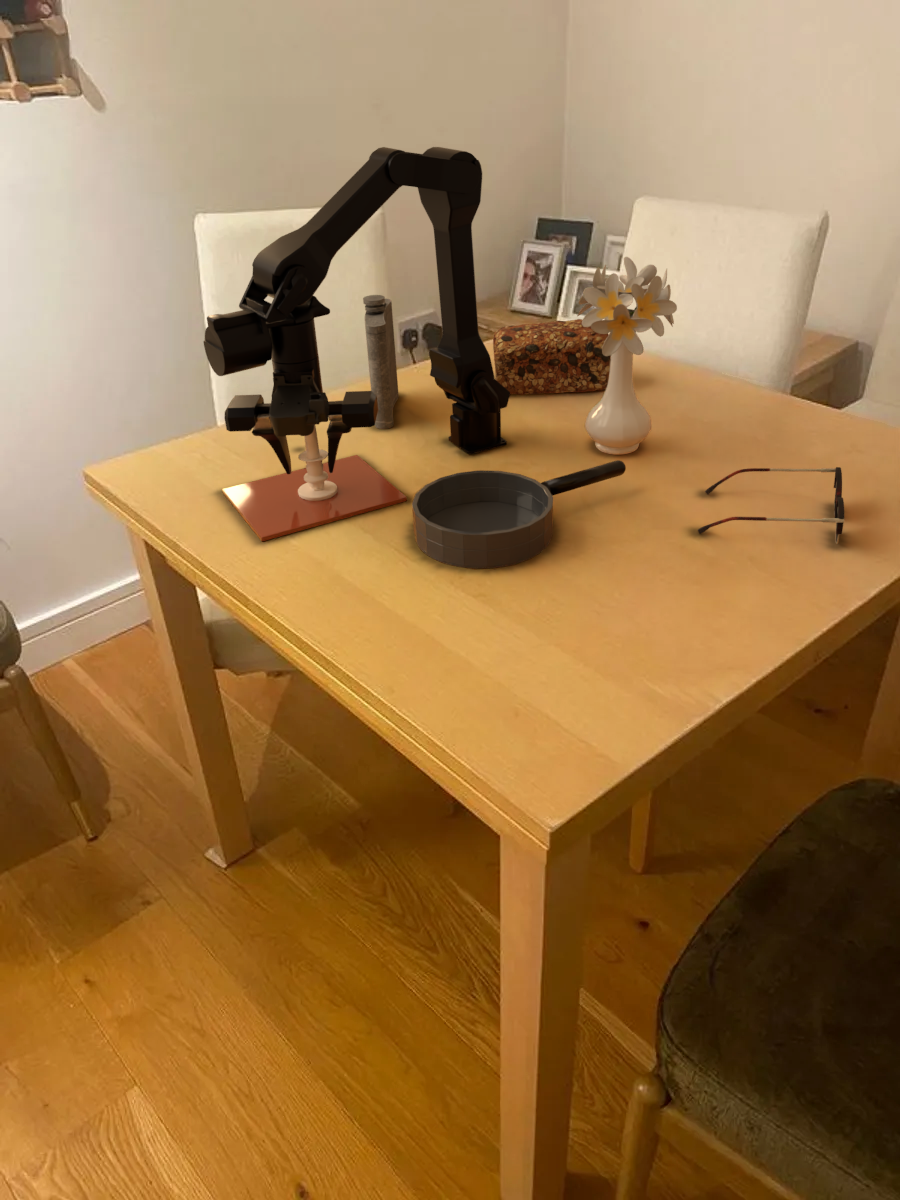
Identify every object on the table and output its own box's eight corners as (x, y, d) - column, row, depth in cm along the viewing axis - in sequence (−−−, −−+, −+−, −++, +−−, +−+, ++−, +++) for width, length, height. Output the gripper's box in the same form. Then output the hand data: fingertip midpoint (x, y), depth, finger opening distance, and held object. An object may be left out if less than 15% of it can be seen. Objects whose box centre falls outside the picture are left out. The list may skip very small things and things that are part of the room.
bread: (603, 371, 165) (606, 312, 159) (610, 394, 156) (613, 332, 151) (493, 374, 166) (492, 316, 160) (494, 397, 157) (493, 336, 151)
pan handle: (619, 470, 126) (619, 456, 125) (628, 476, 125) (629, 461, 124) (534, 495, 121) (534, 481, 120) (543, 501, 120) (543, 486, 119)
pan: (506, 490, 128) (505, 459, 126) (579, 543, 116) (580, 509, 113) (392, 523, 122) (389, 491, 120) (456, 583, 109) (455, 548, 107)
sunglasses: (840, 554, 111) (845, 515, 109) (696, 546, 116) (697, 509, 113) (837, 500, 122) (841, 464, 120) (705, 495, 127) (707, 460, 124)
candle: (335, 500, 127) (326, 425, 121) (295, 501, 127) (284, 427, 121) (339, 483, 131) (331, 410, 126) (301, 484, 131) (291, 411, 126)
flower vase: (580, 477, 131) (587, 290, 117) (568, 424, 146) (573, 253, 133) (678, 474, 130) (695, 285, 117) (655, 421, 146) (669, 249, 132)
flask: (369, 429, 148) (357, 311, 138) (377, 395, 160) (367, 284, 150) (393, 428, 148) (383, 310, 138) (399, 394, 160) (391, 283, 150)
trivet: (357, 458, 139) (356, 454, 139) (407, 501, 127) (406, 496, 127) (222, 493, 131) (221, 489, 131) (261, 541, 119) (261, 537, 119)
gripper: (204, 382, 113) (226, 502, 121) (364, 376, 112) (375, 498, 120) (225, 350, 122) (244, 464, 130) (373, 345, 121) (383, 460, 130)
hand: (310, 472), depth 127 cm, fingers open, 5 cm apart
